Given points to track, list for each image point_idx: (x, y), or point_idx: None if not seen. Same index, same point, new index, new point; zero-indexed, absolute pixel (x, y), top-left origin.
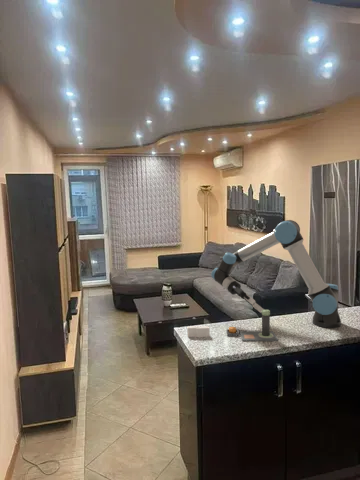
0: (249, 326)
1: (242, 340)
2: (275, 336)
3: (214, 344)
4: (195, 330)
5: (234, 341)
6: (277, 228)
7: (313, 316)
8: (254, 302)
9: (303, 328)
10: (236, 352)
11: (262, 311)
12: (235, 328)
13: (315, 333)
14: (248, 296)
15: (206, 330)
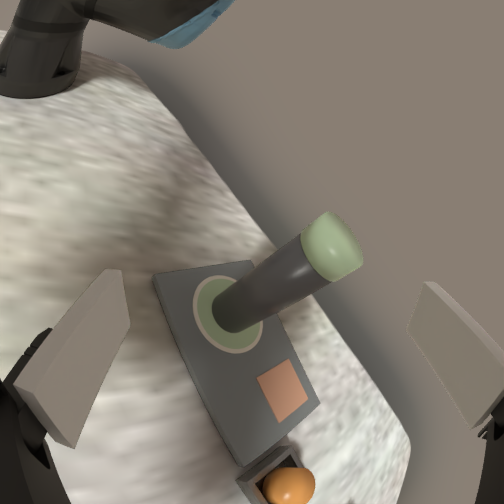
0: (98, 444)
1: (317, 403)
2: (225, 267)
3: (367, 470)
4: None
5: (327, 431)
6: None
7: (20, 71)
8: (420, 300)
9: (72, 137)
10: (370, 383)
11: (362, 262)
12: (296, 472)
13: (125, 122)
14: (488, 351)
15: None
